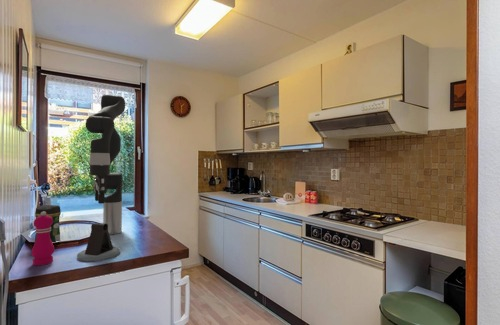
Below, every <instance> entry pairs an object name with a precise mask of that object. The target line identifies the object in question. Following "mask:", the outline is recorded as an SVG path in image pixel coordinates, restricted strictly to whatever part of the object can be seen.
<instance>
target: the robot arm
mask: <svg viewBox="0 0 500 325" xmlns="http://www.w3.org/2000/svg"><path fill="white" fill-rule="evenodd" d="M125 109H126V100H125V98H124V97H123V96H120V95H113V94H102V96H101V98H100V110H99V111H98V112H96V113H94V114H91V115H89V116H88V118H86V120H85V128H86V130H87V132H89V133H91V134H101V137H99V138H94V139H91V141H90V156H89V175H90V176H94V177H93V191H94V201H95V202H98V204H100V205H102V204H103V206H102V207H103V209H102V211H103V212H102V213H103V214H102V215H103V216H102V219H103V220H102V221H103V222H102V223H104V224H108V232H109V235H118V234H120V233H122V230H123V229H122V227H123V226H122V225H123V224H122V223H123V216H122V215H123V183H124V182H123V179H124V177H123V174H122V173H121V172H111V165H112V163H113V162H114V160H116V158H117V157H118V155H119V154H120V152H121V146H122V142H121V141H122V139H121V136H120V134H119V132H118V131H117V129H116V128H115V122H114V121H115V119H116V118H118V117H120V116H121V115H122V114H124V113H125ZM108 190H115V191H114V192H113V193H110V194H108V195H106V193H107V191H108ZM105 195H106V196H105Z"/></svg>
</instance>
